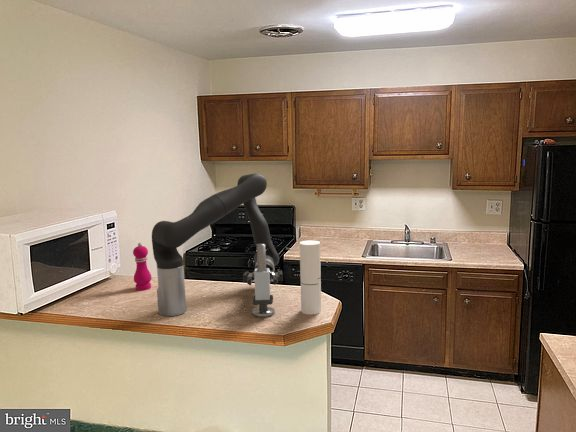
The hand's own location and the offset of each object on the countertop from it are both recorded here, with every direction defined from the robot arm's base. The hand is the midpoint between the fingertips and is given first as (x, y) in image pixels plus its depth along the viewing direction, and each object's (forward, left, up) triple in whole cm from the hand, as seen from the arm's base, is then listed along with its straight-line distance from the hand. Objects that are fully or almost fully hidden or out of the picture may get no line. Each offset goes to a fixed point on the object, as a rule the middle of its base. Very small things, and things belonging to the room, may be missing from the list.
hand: (262, 282), depth 157 cm
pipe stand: (0, +1, -12) cm, 12 cm away
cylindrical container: (+17, +2, -12) cm, 21 cm away
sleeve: (0, +1, -6) cm, 6 cm away
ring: (0, +1, -7) cm, 7 cm away
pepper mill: (-53, +34, -12) cm, 64 cm away
